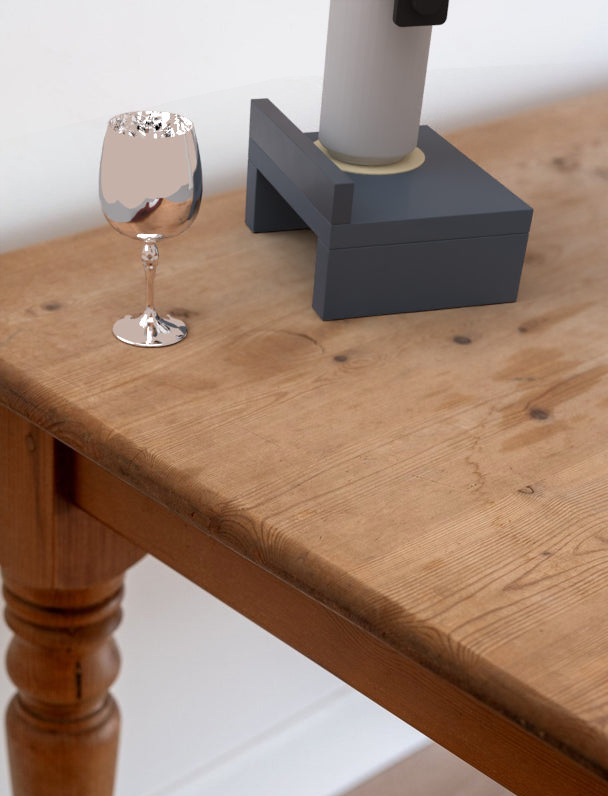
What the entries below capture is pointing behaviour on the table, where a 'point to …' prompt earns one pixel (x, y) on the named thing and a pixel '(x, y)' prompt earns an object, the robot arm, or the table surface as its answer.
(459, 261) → the dark grey stand
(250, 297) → the table surface
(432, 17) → the robot arm
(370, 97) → the beverage can
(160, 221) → the wineglass
